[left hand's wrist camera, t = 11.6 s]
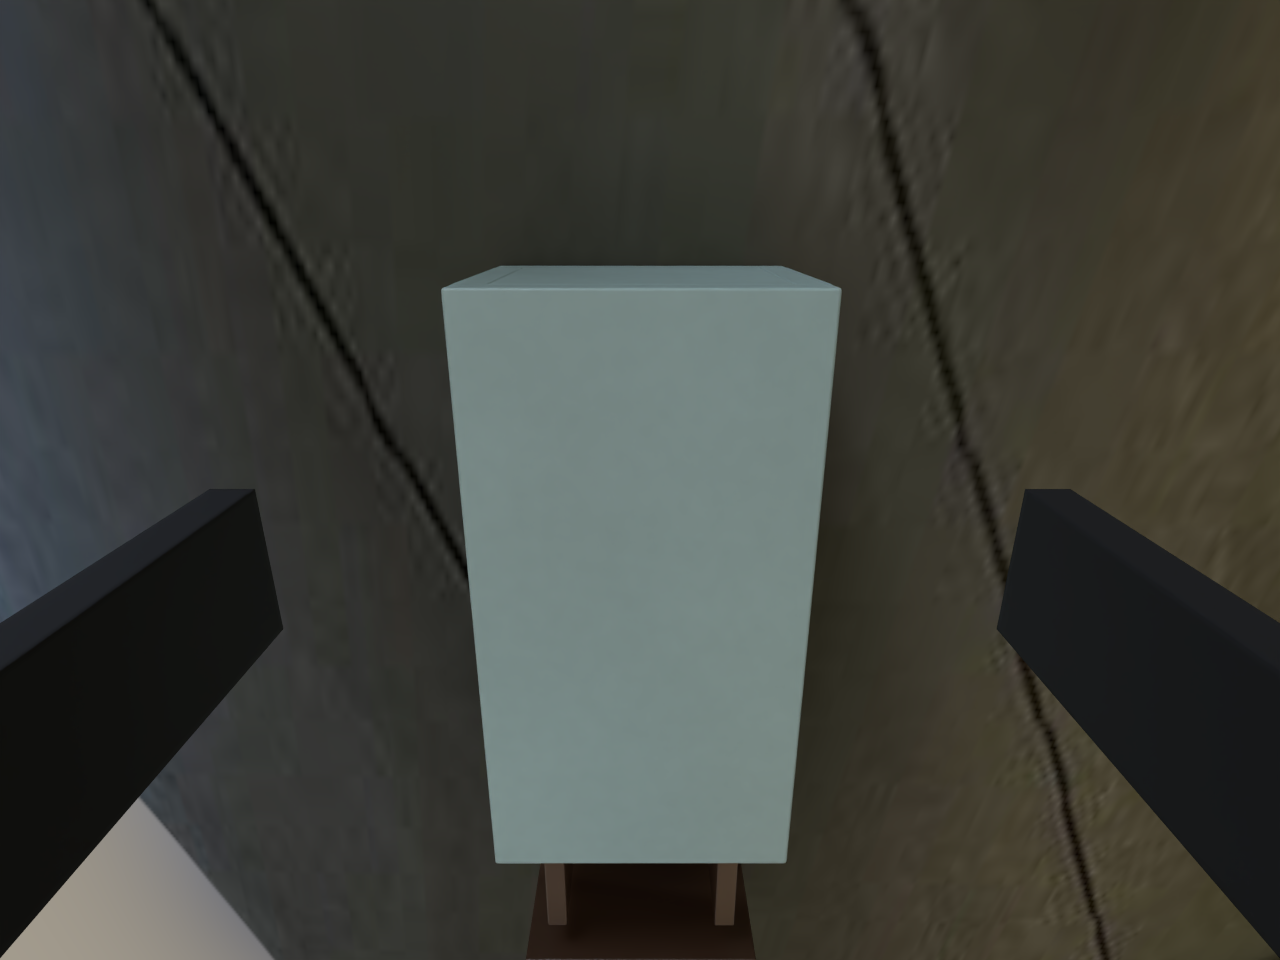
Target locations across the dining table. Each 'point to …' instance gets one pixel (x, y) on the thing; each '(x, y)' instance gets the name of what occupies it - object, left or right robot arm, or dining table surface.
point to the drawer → (640, 912)
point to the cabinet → (641, 549)
